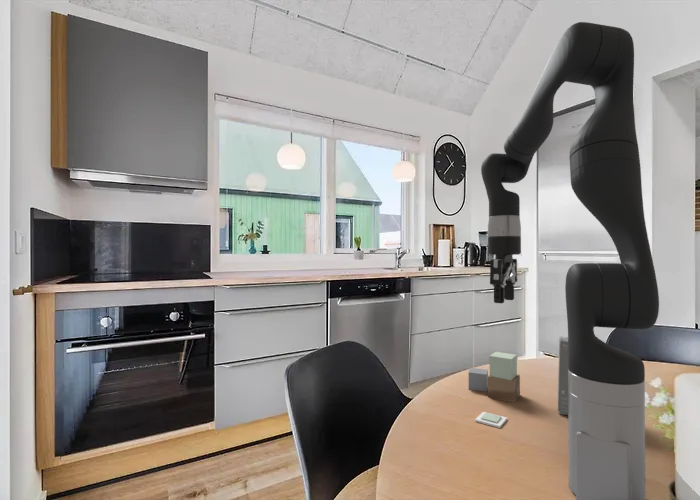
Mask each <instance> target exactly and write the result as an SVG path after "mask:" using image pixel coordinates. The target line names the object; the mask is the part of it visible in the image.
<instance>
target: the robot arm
mask: <svg viewBox="0 0 700 500" xmlns="http://www.w3.org/2000/svg"><path fill="white" fill-rule="evenodd" d="M634 72H635V46H634V39H633V37H632V35H631V33H630V32H629V31H628V30H626V29H624V28H621V27H616V26H612V25H611V26H610V25H605V24H599V23H594V22H593V23H592V22H586V21H580V22H576V23H574V24H571V25H570V26H569V27H568V28H567V29H566V30H565V31H564V33H563V34H562V35H561V37H560V39H559V40H558V41H557V43H556V45H555V47H554V49H553V50H552V53H551V54H550V56H549V59H548V60H547V63H546V65H545V67H544V69H543V71H542V73H541V75H540V77H539V79H538V82H537V84H536V86H535V88H534V90H533V93H532V95H531V97H530V99H529V101H528V104H527V105H526V108H525V109H524V111H523V113H522V115H521V116H520V118H519V120H518V121H517V123H516V124H515V126H514V127H513V128H512V130H511V131H510V133H509V135H508V136H507V138H506V139H505V141H504V143H503V150H504V153H498V152H497V153H495V152H494V153H489V154H488V155H485V157H484V159H483V161H482V162H481V165H480V166H481V167H480V171H481V172H480V173H481V174H480V175H481V178H482V181H483V184H484V187H485V191H486V195H487V199H488V223H487V254H488V255H495V258H490V260H489V261H490V262H489V263H490V264H489V265H490V267H489V268H490V269H489V283H490V285H491V286H492V287H493V303H494V304H504V303H505V301H513V300H514V299H515V285H516V283H518V260H517V258H513V255H521V252H522V226H521V225H522V224H521V217H520V208H521V207H520V206H521V205H520V204H521V203H520V195H519V194H518V193H516V192H515V191H511V190H507V189H506V188H505V187H504V185H503V183H504V184H507V183H508V184H516V183H519V182H520V181H522V180H523V179H525V177H526V176H527V175H528V171H529V168H530V166H531V163H532V161H533V158H534V156H535V154H536V152H537V151H538V150H539V149H540V147H542V146H543V144H544V143H545V142H546V140H547V138H548V137H549V135H550V133H551V131H552V129H553V125H554V101H555V96H556V93H557V92H558V91H559V89H560V88H561V86H562V85H563V84H565V83H566V82H568V83H572V84H573V83H574V84H578V85H585V86H591V87H592V89H593V90H594V99H595V100H594V101H595V103H594V110H593V111H592V114H591V115H590V117H588V118H587V120H586V122H585V123H584V124H583V125H582V127H581V128H580V129H579V131H578V132H577V134H576V136H575V137H574V139H573V140H572V143H571V145H570V149H569V173H570V175H569V176H570V185H571V189H572V191H573V193H574V194H575V196H576V197H577V199H578V200H579V202H580V203H581V204H582V205H583V206H584V207H585V208H586V209H587V211H588V212H590V214H591V215H592V216H593V217H594V218H595V219H596V220H597V221H598V222H599V223H600V225H601V226H602V227H603V228H604V229H605V231H606V232H607V233H608V235H609V237H610V238H611V240H612V242H613V244H614V246H615V248H616V250H617V251H616V252H617V254H618V257H619V261H620V263H619V262H617V263H615V262H612V263H611V262H610V263H609V262H608V263H607V262H606V263H605V262H603V263H601V262H599V263H598V262H596V263H595V262H587V263H586V262H585V263H582V262H581V263H574V264H572V265H571V266H570V267H569V268H568V270H567V272H566V276H565V287H564V288H565V290H564V291H565V306H566V318H567V319H566V320H567V337H568V415H567V416H568V419H567V420H568V427H567V428H568V433H567V434H568V436H567V437H568V442H567V443H568V485H569V489H570V491H571V492H572V493H573V494H574V495H575V499H576V500H646V413H645V412H646V409H645V408H646V407H645V406H646V393H645V391H646V390H645V389H646V385H645V384H646V382H645V381H646V380H645V379H646V377H645V375H646V374H645V373H646V369H645V364H644V361H643V359H641V358H640V357H638V356H637V355H635V354H633V353H631V352H629V351H625V350H623V349H620V348H619V347H614V345H613V346H612V345H611V344H609V343H606V342H605V341H603V340H602V339H600V338H599V337H598V336H596V334H595V331H594V328H595V327H596V328H608V329H623V330H624V329H629V330H648V329H651V328H653V326H654V325H655V324H656V323H657V320H658V317H659V312H660V311H659V310H660V297H659V287H658V281H657V277H656V271H655V270H656V269H655V265H654V260H653V256H652V251H651V246H650V240H649V237H648V236H649V235H648V230H647V225H646V219H645V210H644V202H643V187H642V170H641V169H642V168H641V160H640V159H641V158H640V152H639V151H640V150H639V144H638V143H639V142H638V138H637V137H638V136H637V130H636V123H635V122H636V117H635V107H634V106H635V105H634V78H635V77H634V75H635V74H634Z"/></svg>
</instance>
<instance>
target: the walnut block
mask: <svg viewBox="0 0 700 500" xmlns="http://www.w3.org/2000/svg"><path fill="white" fill-rule="evenodd" d="M520 396H521V375H520V374H518V373H517V376H516V377H515V378H514V379H512V380H506V379H500V378H495V377H490V374H488V389H487V398H491V399H496V400H500V401H506V402H508V403H515V402H516V401H517V400H518V398H520Z"/></svg>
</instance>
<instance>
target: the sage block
mask: <svg viewBox="0 0 700 500" xmlns="http://www.w3.org/2000/svg"><path fill="white" fill-rule="evenodd" d="M517 358H518V355H517V354H514V353H507V352H500V351H495V352H493V353H492V354H490V355H489V375H490V377H495V378H500V379H506V380H512V379H514V378H515V377H516V376H517V374H518V359H517Z"/></svg>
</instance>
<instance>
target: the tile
mask: <svg viewBox="0 0 700 500" xmlns="http://www.w3.org/2000/svg"><path fill="white" fill-rule="evenodd" d="M507 420H508V417H506V416H502V415H497V414H495V413H491V412H486V411H482V412H481V413H480V414H479V415H478V416H477V417H476V418H475V419H474V422H476V423H479V424H483V425H487V426H491V427H494V428H499V429H501V427H502V426H503V425H504V424H505V423H506V422H507Z"/></svg>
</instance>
